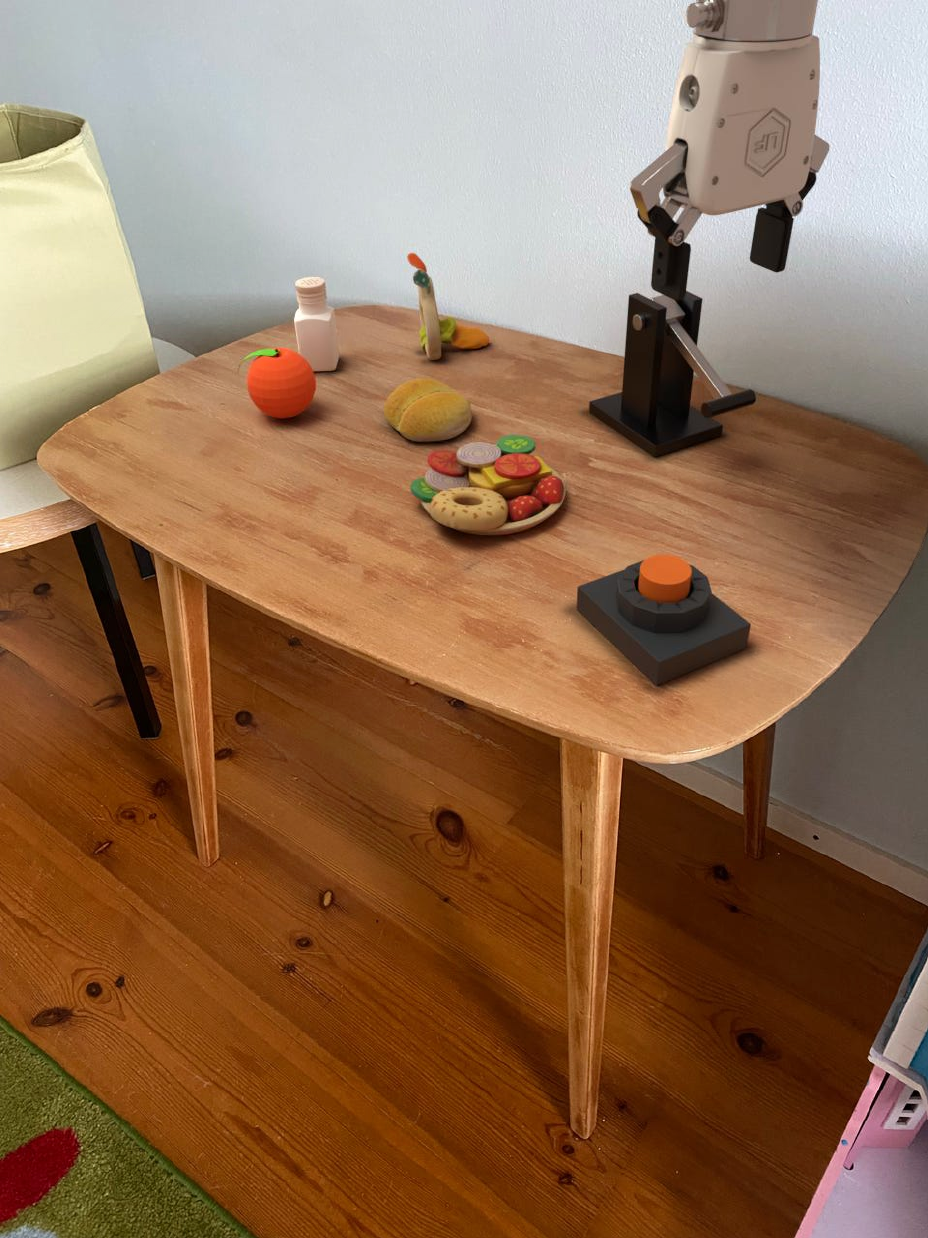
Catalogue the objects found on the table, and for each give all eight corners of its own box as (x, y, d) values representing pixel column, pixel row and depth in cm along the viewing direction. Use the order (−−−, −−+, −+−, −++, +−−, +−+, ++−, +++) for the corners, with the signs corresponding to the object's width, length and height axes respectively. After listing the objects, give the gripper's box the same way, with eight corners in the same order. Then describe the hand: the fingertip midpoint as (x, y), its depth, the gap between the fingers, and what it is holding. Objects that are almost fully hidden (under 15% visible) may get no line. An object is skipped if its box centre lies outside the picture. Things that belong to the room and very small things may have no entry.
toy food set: (445, 558, 81) (443, 524, 79) (394, 482, 90) (391, 451, 88) (590, 520, 84) (592, 487, 82) (526, 451, 94) (526, 420, 92)
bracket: (721, 435, 95) (740, 306, 87) (654, 457, 92) (667, 325, 84) (652, 392, 103) (663, 270, 95) (588, 411, 100) (594, 287, 92)
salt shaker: (336, 372, 109) (326, 287, 104) (300, 373, 110) (288, 288, 104) (340, 357, 113) (330, 274, 107) (306, 358, 113) (294, 275, 107)
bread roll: (419, 453, 94) (416, 415, 92) (373, 419, 100) (370, 382, 98) (490, 428, 98) (489, 391, 95) (442, 396, 104) (440, 360, 101)
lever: (749, 411, 88) (760, 393, 86) (705, 425, 87) (715, 407, 84) (673, 309, 93) (682, 289, 91) (629, 320, 91) (637, 300, 89)
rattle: (483, 367, 109) (480, 263, 102) (410, 365, 110) (402, 262, 103) (490, 340, 115) (488, 239, 108) (421, 339, 116) (414, 239, 109)
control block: (746, 647, 71) (755, 603, 68) (656, 686, 68) (661, 641, 65) (661, 577, 78) (666, 535, 75) (576, 609, 75) (578, 566, 72)
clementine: (233, 428, 100) (220, 362, 95) (255, 397, 105) (243, 333, 101) (309, 431, 99) (299, 365, 94) (327, 400, 104) (319, 336, 100)
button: (699, 594, 70) (702, 574, 69) (658, 610, 69) (660, 590, 67) (668, 568, 72) (670, 549, 71) (628, 583, 71) (629, 564, 70)
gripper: (688, 39, 57) (659, 323, 68) (895, 7, 64) (839, 271, 75) (610, 23, 62) (594, 289, 73) (809, -5, 69) (768, 243, 80)
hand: (718, 280), depth 74 cm, fingers open, 9 cm apart
